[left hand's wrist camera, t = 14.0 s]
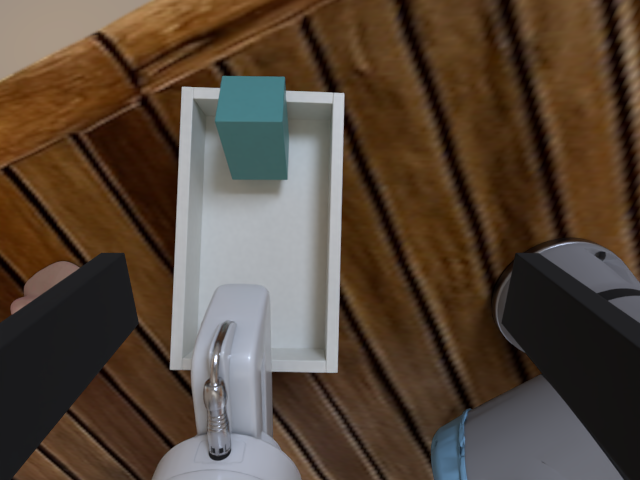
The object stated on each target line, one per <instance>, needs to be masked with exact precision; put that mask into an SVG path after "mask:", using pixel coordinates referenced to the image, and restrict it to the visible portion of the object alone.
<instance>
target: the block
mask: <svg viewBox="0 0 640 480" xmlns="http://www.w3.org/2000/svg"><path fill="white" fill-rule="evenodd" d="M215 124H216V127H217V131H218V134H219V137H220V140H221V144H222V147H223V150H224V154H225V157H226V160H227V164H228V167H229V170H230V173H231V177H232V179H233V180H287V179H288V157H289V129H288V115H287V101H286V87H285V77H261V76H222V81H221V87H220V93H219V99H218V104H217V110H216V116H215Z"/></svg>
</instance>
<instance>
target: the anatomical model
mask: <svg viewBox="0 0 640 480" xmlns="http://www.w3.org/2000/svg"><path fill="white" fill-rule="evenodd" d="M78 269H79V267H78V266H76V265H74V264H72V263H70V262H66V261H60V262H56V263H54V264H51V265H49V266H48V267H46V268H44V269H42V270H41V271H39V272H37V273H36V274H35V275H34V276H33V277H32V278H30V279H29V280H28V281H27V283H26V284H25V287H24V296H25V297H22V298H19V299H17V300H15V301H14V302H13V303H12V304H11V313H12V314H14V313H15V312H17V311H18V310H20V309H21V308H23V307H24V306H25V305H27V304H28V303H30V302H31V301H33V300H34V299H36V298H37V297H38V296H40V295H41V294H43V293H44V292H46V291H47V290H49V289H50V288H52V287H53V286H54V285H56V284H57V283H59V282H60V281H62V280H63V279H65V278H66V277H67V276H69V275H70V274H72V273H73V272H75V271H76V270H78Z"/></svg>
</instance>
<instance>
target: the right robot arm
mask: <svg viewBox="0 0 640 480" xmlns="http://www.w3.org/2000/svg"><path fill="white" fill-rule="evenodd" d="M191 387H192V395H193V403H194V411H195V419H196V428H197V435H196V436H195V437H193V438H190V439H188V440H185V441H183V442H181V443H179V444H178V445H176V446H174V447H173V448H172V449H171V450H169V451H168V452H167V453H166V454H165V455H164V456H163V458H162V459H161V460H160V462H159V464H158V466H157V468H156V470H155V472H154V475H153V477H152V480H302V479H301V476H300V473H299V471H298V469H297V467H296V465H295V464H294V462H293V461H292V460H291V459H290V458H289V457H288V456H287V455H286V454H285V453H284V452H283V451H282V450H281V448H280V446H279V445H278V444H277V442H276V441H275V440H274V439H273V415H272V362H271V309H270V294H269V291H268V290H267V288H265V287H264V286H261V285H256V284H225V285H221V286H219V287H218V288H217V289H216V290H215V292H214V294H213V296H212V298H211V301H210V303H209V306H208V308H207V310H206V313H205V316H204V318H203V321H202V324H201V327H200V329H199V332H198V335H197V338H196V342H195V346H194V350H193V355H192V362H191Z"/></svg>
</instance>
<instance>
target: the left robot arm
mask: <svg viewBox="0 0 640 480" xmlns="http://www.w3.org/2000/svg"><path fill="white" fill-rule="evenodd" d="M491 307H492V315H493V318H494V321H495V323H496V325H497V327H498V328H499V330H500V331H501V332H502V334H503V335H504V336H505V337H506V339H507V340H508V341H509V342H510V343H512V344H513V345H514V346H515V347H517V348H518V349H520V350H521V351H523V352H525V353H526V354H527V355H528V357H529V358H530V359H531V360H532V361H533V363H534V364H535V365H536V366H537V368H538V369H539V370H540V371H541V372H542V374H540V375H538V376H536V377H534V378H532V379H530V380H529V381H527V382H525V383H523V384H521V385H519V386H517V387H515V388H513V389H511V390H509V391H507V392H505V393H503V394H501V395H499V396H497V397H495V398H493V399H491V400H489V401H487V402H486V403H484V404H482V405H480V406H478V407H476V408H474V409H471V408H469V409H467V410H465V411H464V412H463V414H462V415H461V416H459V417H457V418H456V419H454V420H452V421H451V422H449V423H447V424H446V425H444V426H442V427H441V428H439V429H438V431H437V432H436V433H435V435H434V437H433V440H432V445H431V463H432V470H433V476H434V480H640V283H639V281H638V280H637V279H636V278H635V276H634V275H633V274H632V273H631V271H630V270H629V269H628V267H627V266H626V265H625V264H624V262H623V261H622V260H621V259H620V258H618V257H617V256H616V255H615V254H614V253H613V252H611V251H610V250H608V249H606V248H604V247H602V246H601V245H599V244H597V243H595V242H592V241H589V240H585V239H580V238H561V239H555V240H551V241H547V242H544V243H542V244H539V245H537V246H535V247H533V248H531V249H529V250H528V251H526V252H524V253H516V254H515V259H514V261H513V262H512V263H511V264H510V265H509V266H508V267H507V268H506V270H505V271H504V272H503V274H502V275H501V277H500V278H499V280H498V282H497V284H496V286H495V289H494V292H493V296H492V305H491ZM138 324H139V322H138V317H137V312H136V308H135V303H134V298H133V293H132V288H131V283H130V278H129V274H128V269H127V264H126V259H125V254H124V253H101V254H99V255H98V256H96V257H95V258H93V259H92V260H91V261H89V262H88V263H86V264H85V265H83V266H82V267H80V268H79V269H78V270H76V271H75V272H73V273H72V274H70V275H69V276H67V277H66V278H65V279H63V280H62V281H60V282H59V283H57V284H56V285H54V286H53V287H52V288H50V289H49V290H47V291H46V292H44V293H43V294H41V295H40V296H38V297H37V298H36V299H34V300H33V301H31V302H30V303H28V304H27V305H25V306H24V307H23V308H21V309H20V310H18V311H17V312H15V313H14V314H12V315H11V316H10V317H8V318H7V319H5V320H4V321H2V322H1V323H0V480H11V479H12V477H13V476H14V475H15V474H16V473H17V471H18V470H19V469H20V468H21V466H22V465H23V464H24V463H25V462H26V460H27V459H28V458H29V457H30V455H31V454H32V453H33V452H34V451H35V449H36V448H37V447H38V446H39V444H40V443H41V442H42V441H43V440H44V438H45V437H46V436H47V435H48V433H49V432H50V431H51V430H52V429H53V427H54V426H55V425H56V424H57V422H58V421H59V420H60V419H61V418H62V416H63V415H64V414H65V413H66V411H67V410H68V409H69V408H70V407H71V405H72V404H73V403H74V402H75V400H76V399H77V398H78V397H79V396H80V394H81V393H82V392H83V391H84V389H85V388H86V387H87V386H88V385H89V383H90V382H91V381H92V380H93V378H94V377H95V376H96V375H97V374H98V372H99V371H100V370H101V369H102V368H103V366H104V365H105V364H106V363H107V361H108V360H109V359H110V358H111V357H112V355H113V354H114V353H115V352H116V350H117V349H118V348H119V347H120V346H121V344H122V343H123V342H124V341H125V339H126V338H127V337H128V336H129V335H130V333H131V332H132V331H133V330H134V328H135V327H136V326H137V325H138Z"/></svg>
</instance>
